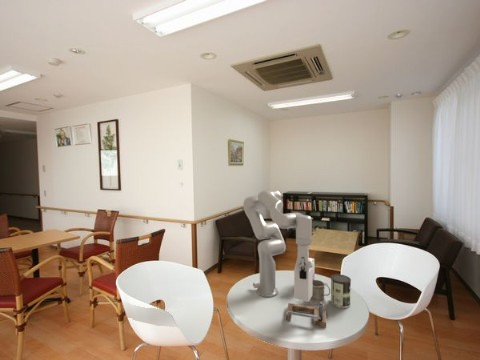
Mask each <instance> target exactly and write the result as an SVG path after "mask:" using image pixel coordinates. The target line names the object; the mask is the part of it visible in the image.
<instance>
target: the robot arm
mask: <svg viewBox="0 0 480 360" xmlns="http://www.w3.org/2000/svg"><path fill="white" fill-rule="evenodd" d="M283 207H284V203H283V201H282V194H281V193H280V191H279V190H278V189H267V190H262V191H260V192H259V193H258V194H257V195H250V196H247V197H246V198H245V199H244V200H243V210H244V213H245V215H246V217H247V218H248V220H249V223H250V225H251V228H252V231H253V233H254V236H255V237H256V238H257V240H262V241H260V242H259V243H258V245H257V251H258V252H257V253H258V258H259V259H258V260H259V282H258V283H257V282H252V286H253V288H254V289H256V292H257V294H258V295H259V296H261V297H266V298H271V297H275V296H277V295H278V294H279V290H278V288H277V287H276V272H277V271H276V269H277V268H276V261H275V260H274V257H273V256H277V255H281V254H283V253H285V252H286V249H287V246H286V242H285V240H284V237H283V235H282V232H281V230H280V229H283V230H286V229H287V230H288V229H293V228H295V244H296V245H297V258H296V262H297V264H298V265H300V279H306V266H307V264H308V258H310V246H311V245H312V240H313V239H312V237H313V236H312V235H313V234H312V233H313V231H312V230H313V229H312V228H313V227H312V224H313V223H312V222H313V221H312V217H311V216H310V215H307V214H302V213H300V212H290V213H282V212H281V211H282V210H283ZM261 209H267V210H268V211H269V213H270V214H269V215H270V218H271V220H272V221H269V222H265V220H264V217H263V215H262V214H261V213H260V212H259V211H258V210H261ZM264 239H265V240H264ZM304 266H305V267H304Z"/></svg>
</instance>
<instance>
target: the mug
mask: <svg viewBox="0 0 480 360" xmlns="http://www.w3.org/2000/svg"><path fill="white" fill-rule="evenodd" d="M325 286H326V287H327V289H328V294H326V293H325ZM330 295H331V287H330V286H329V284H328V283H326V282H324V281H322V280H319V279H314V280H313V289H312V297H311V299H310V300H309V302H310V303H311V304H313V305H319V302H323V305H324V304H325V303H326V298H325V296H330ZM309 302H308V303H309Z"/></svg>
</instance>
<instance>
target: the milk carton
mask: <svg viewBox="0 0 480 360" xmlns="http://www.w3.org/2000/svg"><path fill="white" fill-rule="evenodd" d="M304 267H305V266H304ZM293 271H294V273H293V275H294V277H293V278H294V279H293V282H294V283H293V286H294V288H293V290H294V292H293V295H294V296H293V298H294V299H296V300H300V301H302V302H307V303H309V300H310V299H311V297H312V289H313V267H312V265H311V261H308V264H307V266H306V279H300V265H298V264H297V261H296V263H295V265H294V269H293Z"/></svg>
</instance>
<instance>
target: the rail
mask: <svg viewBox="0 0 480 360" xmlns="http://www.w3.org/2000/svg"><path fill="white" fill-rule="evenodd" d="M290 314H291V315H292V316H298V317H304V318H310V319H314V318H315V319H321V317H320V316H316V315H314V314H311V313H305V312H299V311H288V313H287V322H290V321H289V315H290Z"/></svg>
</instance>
